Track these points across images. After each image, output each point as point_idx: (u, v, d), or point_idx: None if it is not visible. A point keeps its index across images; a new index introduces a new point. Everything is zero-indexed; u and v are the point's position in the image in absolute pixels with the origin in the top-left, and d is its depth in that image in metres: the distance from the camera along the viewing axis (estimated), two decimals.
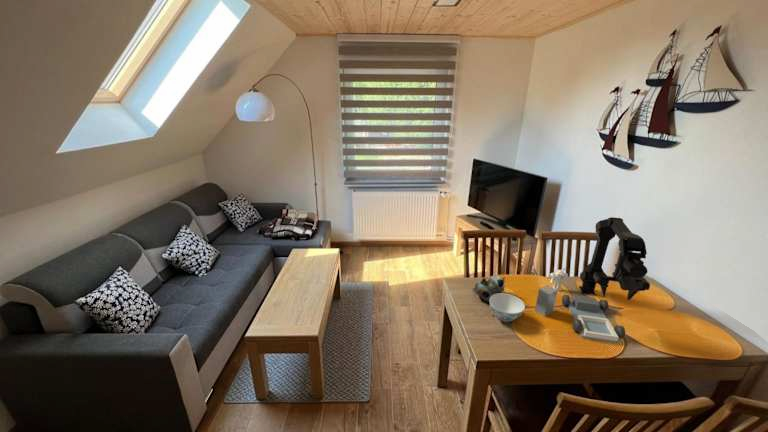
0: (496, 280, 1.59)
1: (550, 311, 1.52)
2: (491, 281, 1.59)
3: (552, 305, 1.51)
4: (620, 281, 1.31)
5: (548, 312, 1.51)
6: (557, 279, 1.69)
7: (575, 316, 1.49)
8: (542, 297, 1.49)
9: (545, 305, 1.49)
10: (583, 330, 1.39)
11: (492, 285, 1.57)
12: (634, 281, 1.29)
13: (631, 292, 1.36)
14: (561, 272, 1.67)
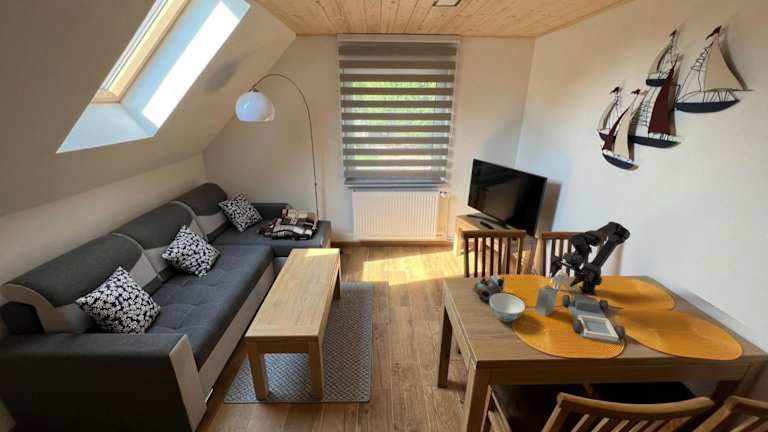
0: (496, 280, 1.59)
1: (550, 311, 1.52)
2: (491, 281, 1.60)
3: (552, 305, 1.51)
4: None
5: (548, 312, 1.51)
6: (557, 279, 1.69)
7: (575, 316, 1.49)
8: (542, 297, 1.49)
9: (545, 305, 1.49)
10: (583, 330, 1.39)
11: (492, 285, 1.58)
12: (575, 256, 1.49)
13: None
14: (561, 272, 1.67)
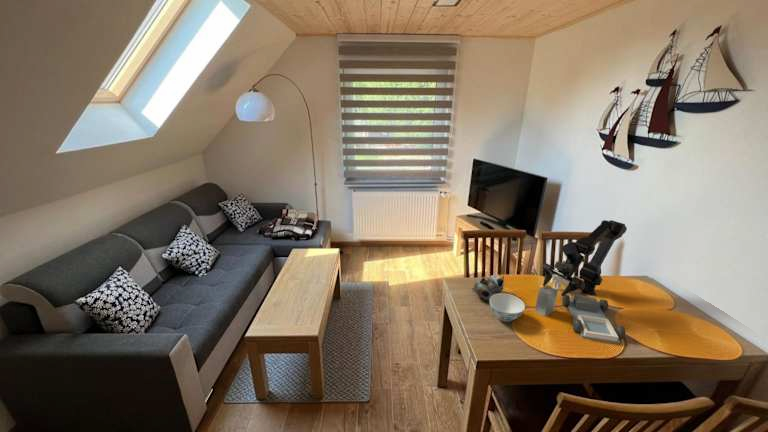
0: (495, 279, 1.60)
1: (550, 311, 1.52)
2: (491, 280, 1.60)
3: (552, 305, 1.51)
4: None
5: (548, 312, 1.51)
6: (557, 279, 1.69)
7: (575, 316, 1.49)
8: (542, 297, 1.49)
9: (545, 305, 1.49)
10: (583, 330, 1.39)
11: (492, 284, 1.58)
12: (567, 265, 1.48)
13: None
14: None
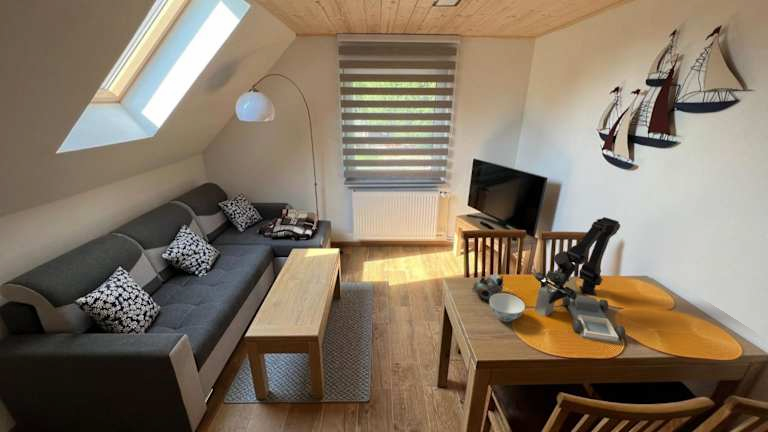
0: (495, 279, 1.60)
1: (550, 311, 1.52)
2: (490, 280, 1.60)
3: (552, 305, 1.51)
4: None
5: (548, 312, 1.51)
6: None
7: (575, 316, 1.49)
8: (542, 297, 1.49)
9: (545, 305, 1.49)
10: (583, 330, 1.39)
11: (491, 284, 1.58)
12: (558, 275, 1.47)
13: None
14: None
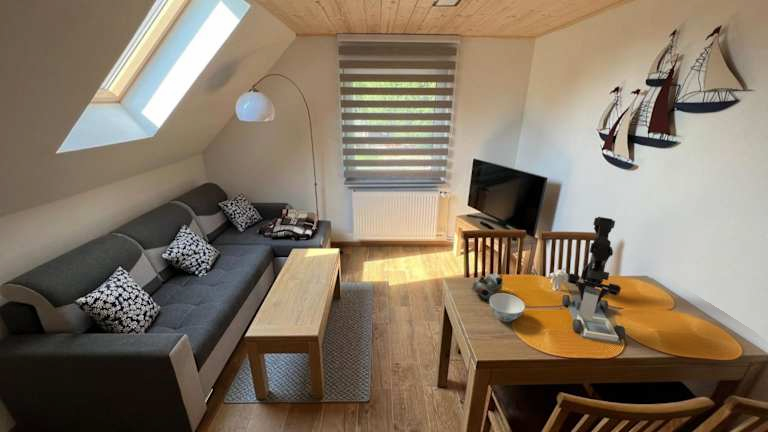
0: (495, 278, 1.61)
1: None
2: (490, 279, 1.61)
3: None
4: (588, 274, 1.38)
5: None
6: (557, 279, 1.69)
7: (575, 316, 1.49)
8: (589, 300, 1.35)
9: (593, 308, 1.35)
10: (583, 330, 1.39)
11: (491, 283, 1.59)
12: (601, 273, 1.35)
13: None
14: (561, 272, 1.67)
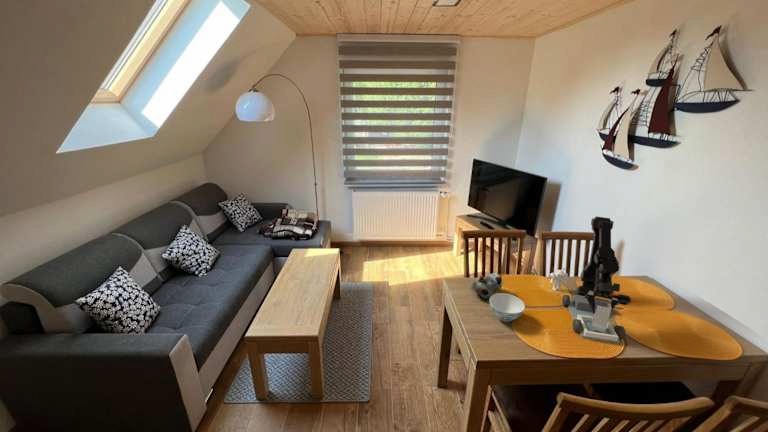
0: (494, 278, 1.61)
1: None
2: (489, 279, 1.61)
3: None
4: (599, 286, 1.37)
5: None
6: (557, 279, 1.69)
7: (575, 316, 1.49)
8: (602, 313, 1.35)
9: (606, 321, 1.35)
10: (583, 330, 1.39)
11: (491, 283, 1.59)
12: None
13: None
14: (561, 272, 1.67)
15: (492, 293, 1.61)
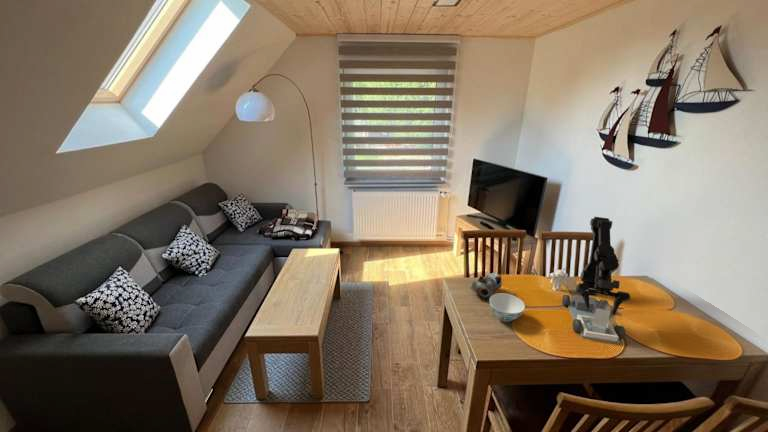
0: (494, 277, 1.61)
1: None
2: (489, 279, 1.61)
3: None
4: (598, 283, 1.38)
5: None
6: (557, 279, 1.69)
7: (575, 316, 1.49)
8: (601, 316, 1.35)
9: (605, 323, 1.35)
10: (583, 330, 1.39)
11: (490, 282, 1.59)
12: None
13: (614, 305, 1.37)
14: (561, 272, 1.67)
15: (492, 293, 1.61)
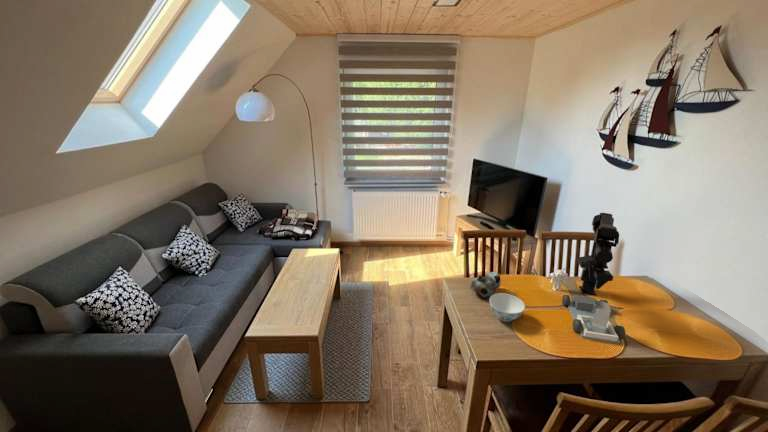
0: (493, 276, 1.62)
1: None
2: (488, 278, 1.62)
3: None
4: None
5: None
6: (557, 279, 1.69)
7: (575, 316, 1.49)
8: (601, 316, 1.35)
9: (605, 323, 1.35)
10: (583, 330, 1.39)
11: (490, 282, 1.60)
12: (585, 260, 1.48)
13: None
14: (561, 272, 1.67)
15: (491, 292, 1.62)
